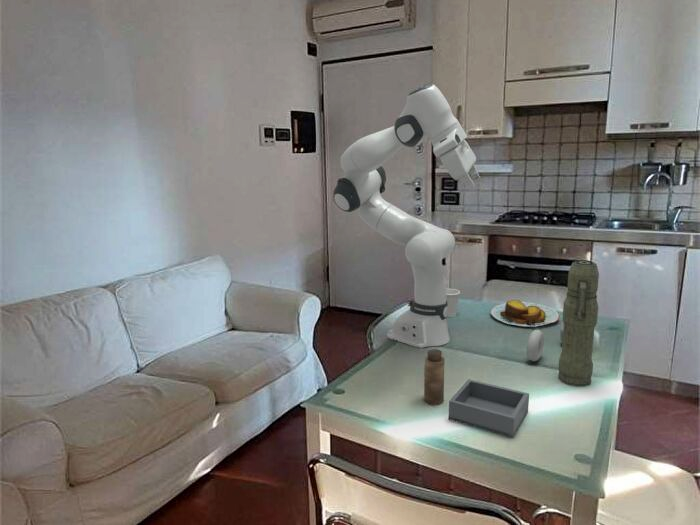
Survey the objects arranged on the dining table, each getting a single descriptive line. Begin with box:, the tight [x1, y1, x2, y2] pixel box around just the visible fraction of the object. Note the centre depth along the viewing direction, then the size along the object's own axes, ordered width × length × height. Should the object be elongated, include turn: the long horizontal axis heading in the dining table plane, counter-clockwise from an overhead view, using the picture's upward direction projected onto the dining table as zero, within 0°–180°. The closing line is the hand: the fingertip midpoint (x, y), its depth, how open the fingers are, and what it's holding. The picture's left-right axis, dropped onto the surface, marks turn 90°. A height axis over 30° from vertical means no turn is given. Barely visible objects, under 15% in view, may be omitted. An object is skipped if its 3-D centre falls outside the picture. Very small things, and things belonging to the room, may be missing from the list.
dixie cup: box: [446, 288, 461, 318], centre depth 200 cm, size 8×8×10 cm
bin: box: [448, 378, 530, 439], centre depth 125 cm, size 16×14×5 cm
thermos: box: [557, 259, 600, 387], centre depth 140 cm, size 9×12×35 cm
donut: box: [526, 329, 545, 362], centre depth 156 cm, size 10×4×10 cm, turn 145°
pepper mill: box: [423, 348, 445, 406], centre depth 132 cm, size 5×5×14 cm
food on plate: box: [490, 299, 560, 328], centre depth 195 cm, size 25×25×7 cm
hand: (475, 184), depth 134 cm, fingers open, 8 cm apart
